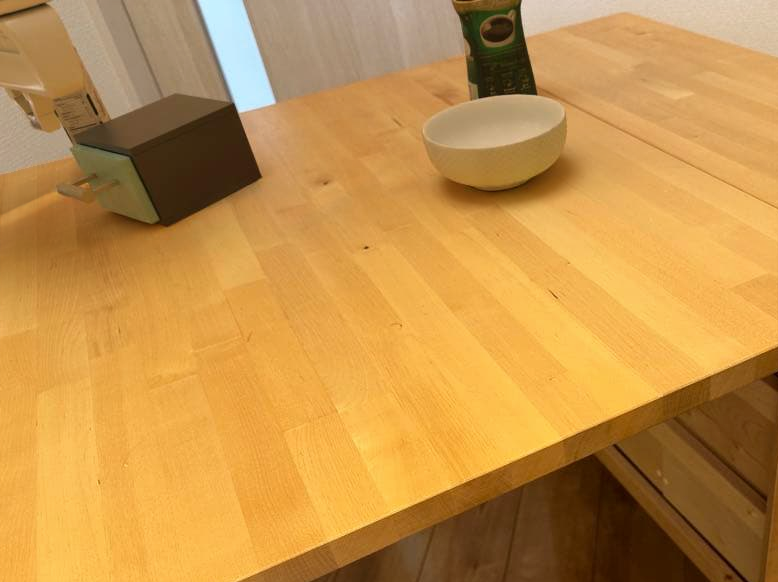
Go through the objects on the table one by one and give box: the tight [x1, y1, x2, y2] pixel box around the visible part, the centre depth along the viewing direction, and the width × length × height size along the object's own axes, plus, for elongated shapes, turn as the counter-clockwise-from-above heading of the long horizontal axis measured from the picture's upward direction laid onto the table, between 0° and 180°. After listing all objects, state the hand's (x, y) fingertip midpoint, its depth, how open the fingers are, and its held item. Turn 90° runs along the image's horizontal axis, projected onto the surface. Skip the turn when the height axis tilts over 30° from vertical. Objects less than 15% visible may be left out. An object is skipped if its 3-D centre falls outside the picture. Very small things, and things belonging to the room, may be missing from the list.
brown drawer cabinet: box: [73, 93, 263, 228], centre depth 97 cm, size 15×13×10 cm
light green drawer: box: [55, 144, 160, 225], centre depth 94 cm, size 18×12×8 cm, turn 145°
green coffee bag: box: [451, 0, 538, 101], centre depth 105 cm, size 10×8×19 cm
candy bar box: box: [53, 43, 112, 147], centre depth 102 cm, size 11×5×16 cm, turn 25°
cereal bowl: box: [421, 95, 568, 192], centre depth 89 cm, size 17×17×7 cm
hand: (48, 129), depth 81 cm, fingers closed
